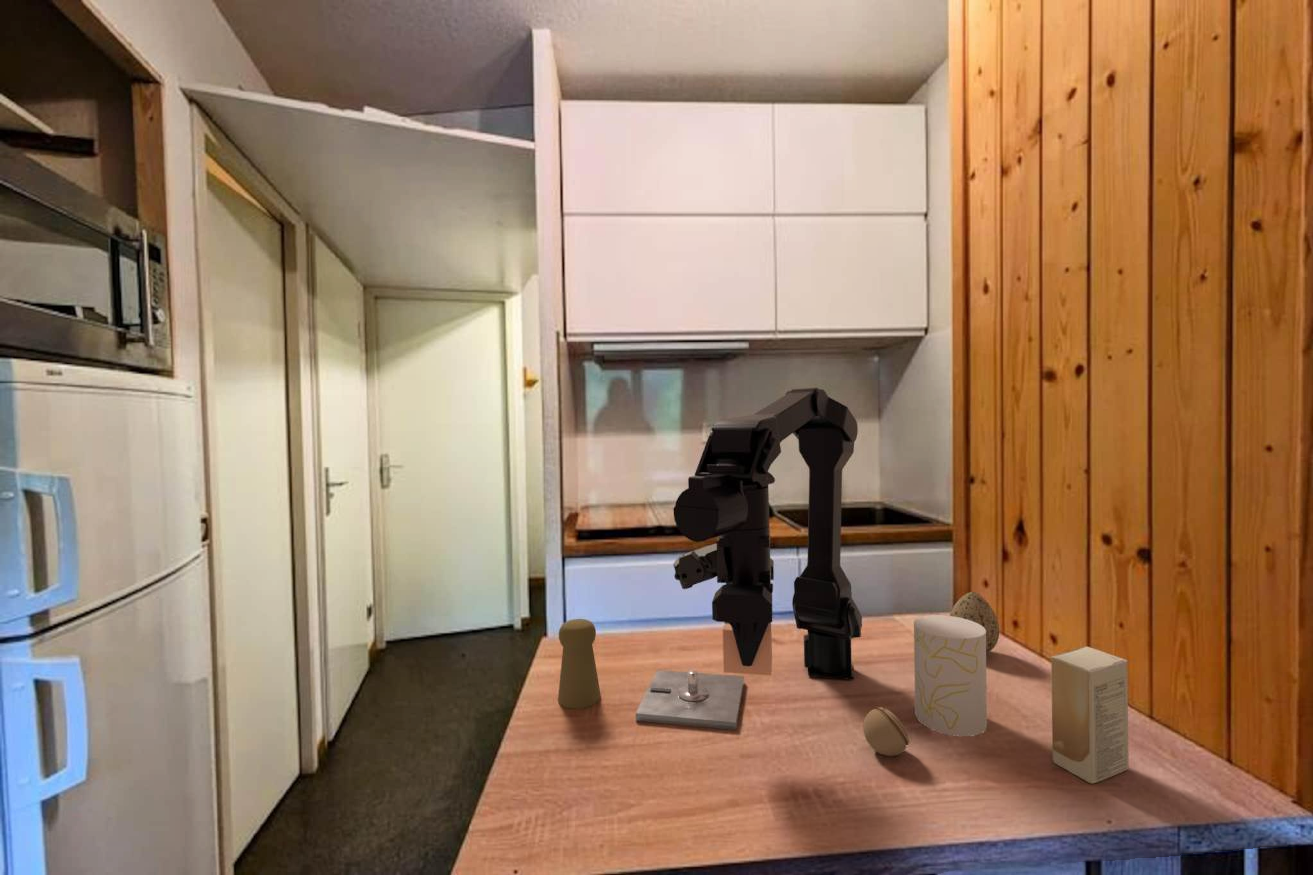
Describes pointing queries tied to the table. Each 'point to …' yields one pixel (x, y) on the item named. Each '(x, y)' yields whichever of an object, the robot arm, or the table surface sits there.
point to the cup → (950, 674)
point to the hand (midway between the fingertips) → (748, 655)
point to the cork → (578, 665)
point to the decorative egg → (978, 616)
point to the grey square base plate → (692, 699)
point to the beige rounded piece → (885, 732)
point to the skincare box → (1090, 713)
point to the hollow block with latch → (732, 657)
